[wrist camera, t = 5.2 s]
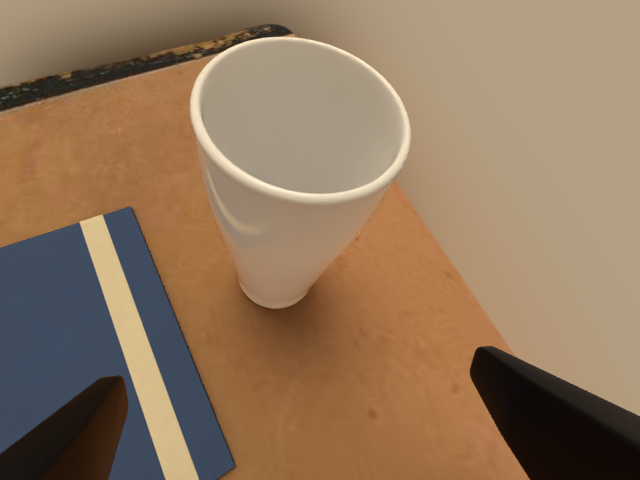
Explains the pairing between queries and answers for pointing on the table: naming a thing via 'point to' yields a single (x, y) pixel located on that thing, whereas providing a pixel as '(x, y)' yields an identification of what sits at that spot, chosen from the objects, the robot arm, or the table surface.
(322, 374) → the table surface
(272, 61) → the white tapered cup
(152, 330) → the cloth
